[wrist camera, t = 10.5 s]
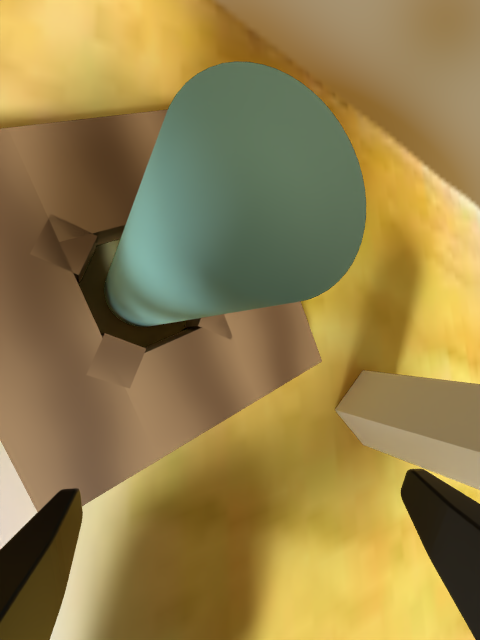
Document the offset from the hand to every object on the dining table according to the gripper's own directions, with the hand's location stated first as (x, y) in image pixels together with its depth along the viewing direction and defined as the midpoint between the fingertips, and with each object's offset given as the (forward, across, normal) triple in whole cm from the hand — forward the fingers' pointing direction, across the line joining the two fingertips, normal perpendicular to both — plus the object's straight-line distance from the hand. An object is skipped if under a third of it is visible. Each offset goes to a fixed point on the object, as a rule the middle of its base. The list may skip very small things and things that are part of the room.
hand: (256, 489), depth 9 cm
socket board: (+12, +4, -2) cm, 13 cm away
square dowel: (+13, -12, +7) cm, 19 cm away
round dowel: (+12, +4, -2) cm, 13 cm away
